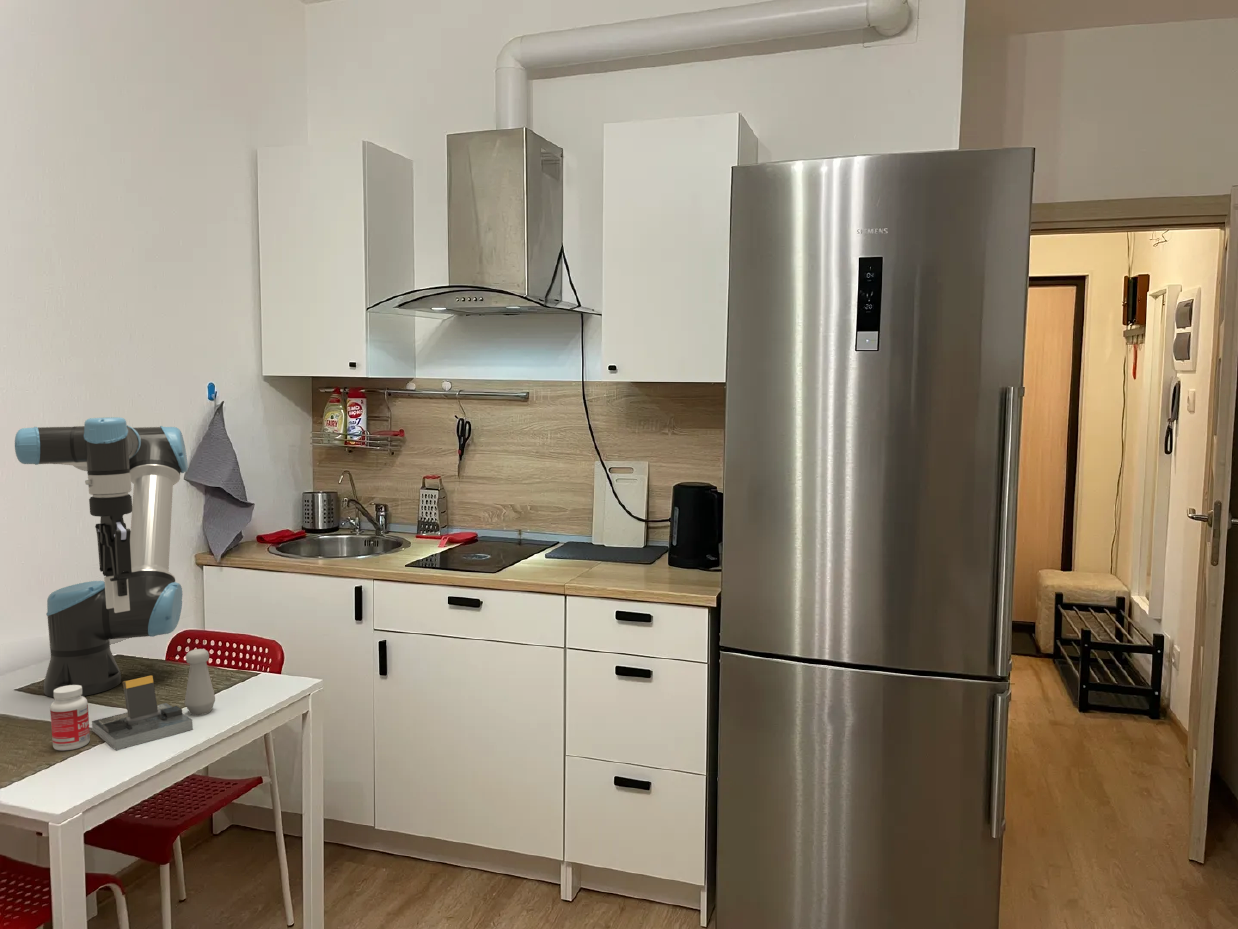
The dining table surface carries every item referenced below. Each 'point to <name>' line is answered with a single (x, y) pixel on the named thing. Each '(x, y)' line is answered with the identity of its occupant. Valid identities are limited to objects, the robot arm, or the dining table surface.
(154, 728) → the panel
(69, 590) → the robot arm
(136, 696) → the paddle
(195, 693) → the salt shaker
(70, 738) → the pill bottle
